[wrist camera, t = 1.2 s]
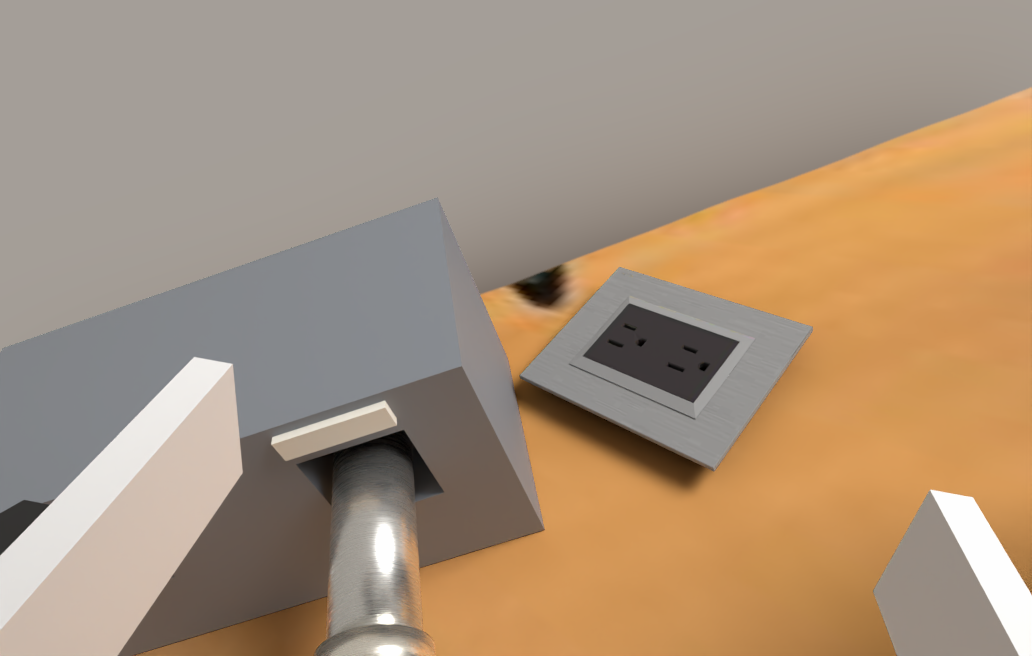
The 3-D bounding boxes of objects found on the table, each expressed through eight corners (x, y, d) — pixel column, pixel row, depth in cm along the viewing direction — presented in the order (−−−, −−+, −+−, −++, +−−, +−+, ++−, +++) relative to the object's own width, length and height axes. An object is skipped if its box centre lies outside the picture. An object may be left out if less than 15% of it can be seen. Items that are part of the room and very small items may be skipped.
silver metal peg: (455, 699, 27) (410, 654, 24) (345, 732, 27) (287, 690, 24) (433, 457, 35) (398, 401, 32) (350, 483, 36) (308, 431, 33)
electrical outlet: (813, 352, 41) (813, 323, 39) (717, 491, 37) (712, 464, 35) (625, 289, 49) (618, 263, 48) (528, 397, 45) (517, 372, 43)
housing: (545, 536, 37) (462, 373, 28) (91, 674, 39) (-116, 561, 30) (507, 358, 47) (437, 197, 38) (147, 476, 49) (2, 348, 40)
